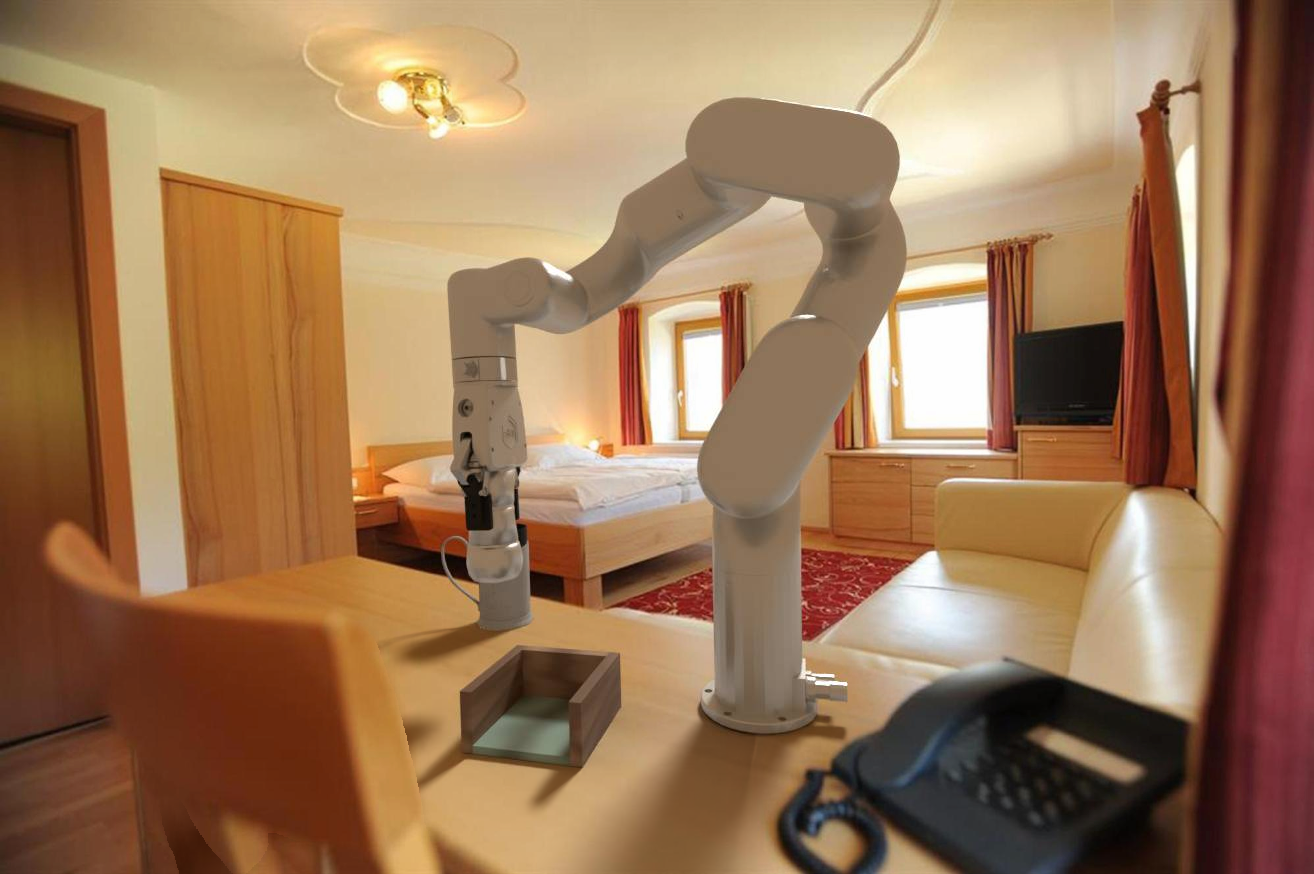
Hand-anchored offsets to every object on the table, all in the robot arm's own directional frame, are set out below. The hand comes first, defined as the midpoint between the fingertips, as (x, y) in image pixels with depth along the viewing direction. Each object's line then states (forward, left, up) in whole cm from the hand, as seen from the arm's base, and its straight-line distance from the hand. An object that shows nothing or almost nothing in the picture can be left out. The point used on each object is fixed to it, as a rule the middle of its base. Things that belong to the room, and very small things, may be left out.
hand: (494, 523), depth 74 cm
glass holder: (+13, -20, -20) cm, 31 cm away
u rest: (-10, +9, -19) cm, 24 cm away
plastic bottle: (0, 0, -7) cm, 7 cm away
